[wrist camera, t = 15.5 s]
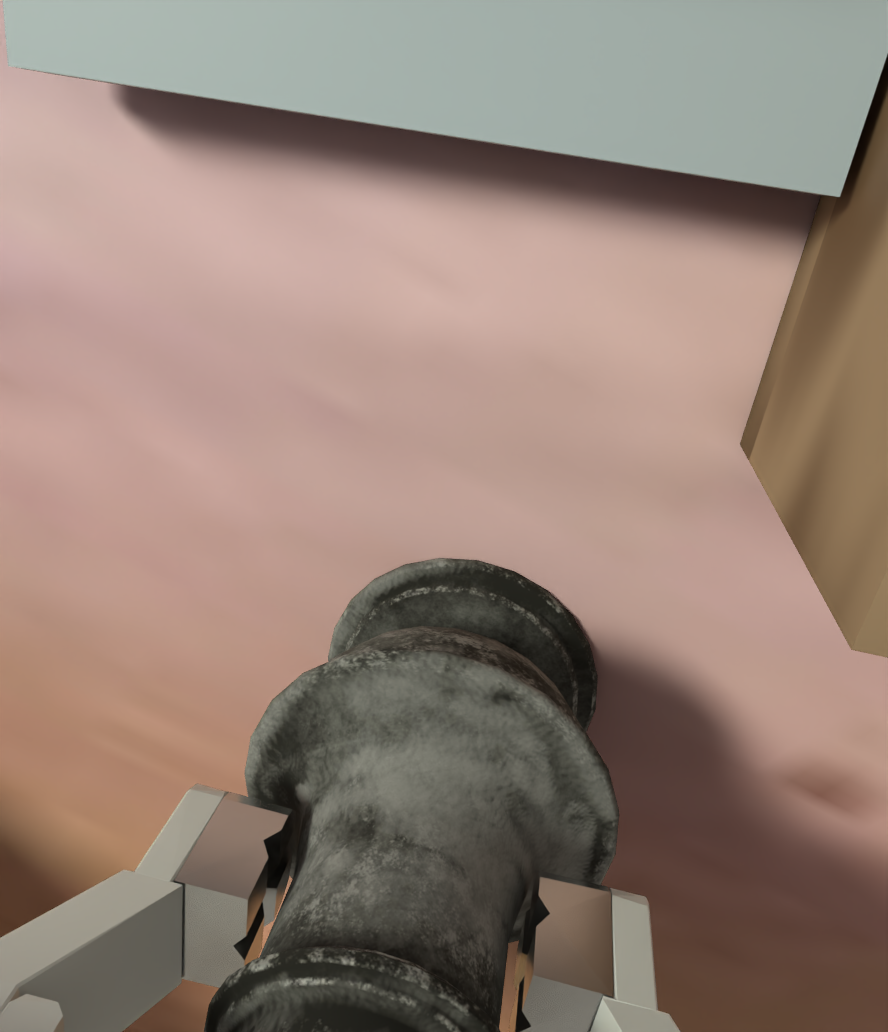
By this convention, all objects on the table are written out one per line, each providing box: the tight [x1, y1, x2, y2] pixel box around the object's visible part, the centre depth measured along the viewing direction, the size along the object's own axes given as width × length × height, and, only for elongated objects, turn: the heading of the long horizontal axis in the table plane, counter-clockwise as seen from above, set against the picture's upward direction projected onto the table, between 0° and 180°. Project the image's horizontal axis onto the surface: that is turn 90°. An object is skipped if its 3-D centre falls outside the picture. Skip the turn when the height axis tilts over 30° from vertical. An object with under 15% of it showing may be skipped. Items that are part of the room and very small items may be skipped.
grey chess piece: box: [204, 558, 619, 1032], centre depth 10 cm, size 6×6×12 cm
